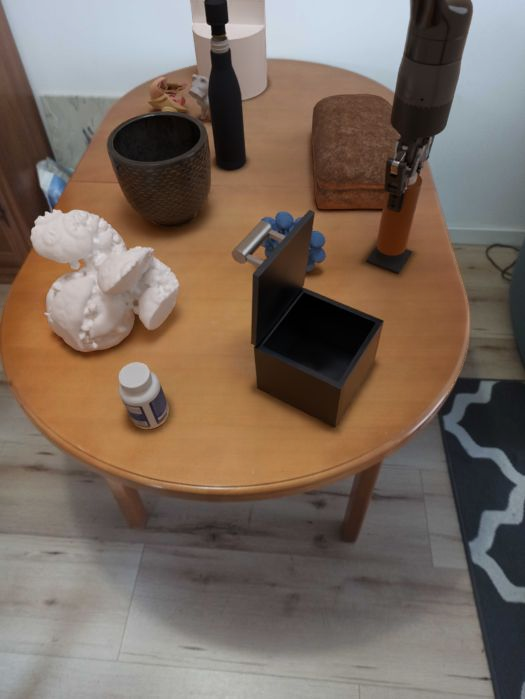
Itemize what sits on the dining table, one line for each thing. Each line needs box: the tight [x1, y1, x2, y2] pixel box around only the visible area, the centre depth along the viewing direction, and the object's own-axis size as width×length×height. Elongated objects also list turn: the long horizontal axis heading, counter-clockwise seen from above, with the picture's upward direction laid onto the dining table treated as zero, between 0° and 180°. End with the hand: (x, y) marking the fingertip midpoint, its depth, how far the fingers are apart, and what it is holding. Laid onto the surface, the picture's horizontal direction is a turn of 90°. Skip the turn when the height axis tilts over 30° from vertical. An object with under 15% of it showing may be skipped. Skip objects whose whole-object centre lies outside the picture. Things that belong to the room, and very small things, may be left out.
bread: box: [311, 93, 400, 210], centre depth 101 cm, size 17×29×11 cm, turn 178°
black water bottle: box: [204, 0, 247, 171], centre depth 96 cm, size 6×6×30 cm
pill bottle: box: [117, 361, 170, 430], centre depth 67 cm, size 5×5×10 cm
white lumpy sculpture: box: [30, 208, 180, 353], centre depth 78 cm, size 19×20×20 cm
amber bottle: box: [375, 168, 423, 256], centre depth 81 cm, size 5×5×14 cm
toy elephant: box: [146, 76, 189, 113], centre depth 119 cm, size 9×10×10 cm
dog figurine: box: [187, 73, 210, 120], centre depth 116 cm, size 5×13×11 cm, turn 144°
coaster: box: [365, 245, 413, 275], centre depth 88 cm, size 6×6×1 cm
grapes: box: [260, 210, 327, 273], centre depth 82 cm, size 12×7×12 cm, turn 80°
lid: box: [231, 209, 316, 346], centre depth 63 cm, size 13×13×6 cm
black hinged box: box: [253, 286, 385, 429], centre depth 70 cm, size 13×13×10 cm
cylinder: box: [189, 0, 268, 101], centre depth 118 cm, size 17×17×28 cm
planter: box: [106, 111, 212, 229], centre depth 92 cm, size 17×17×16 cm
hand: (401, 199), depth 79 cm, fingers closed on amber bottle, 5 cm apart
